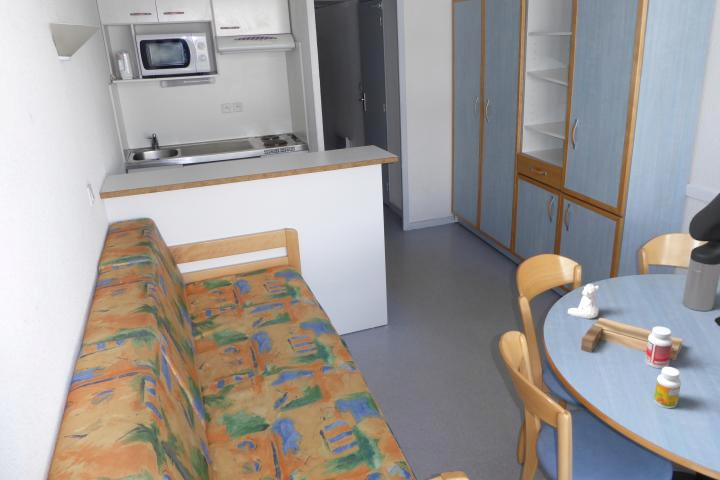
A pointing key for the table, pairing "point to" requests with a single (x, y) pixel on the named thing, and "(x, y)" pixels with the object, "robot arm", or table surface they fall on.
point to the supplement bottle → (667, 388)
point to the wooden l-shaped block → (622, 337)
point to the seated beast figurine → (586, 304)
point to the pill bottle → (659, 347)
